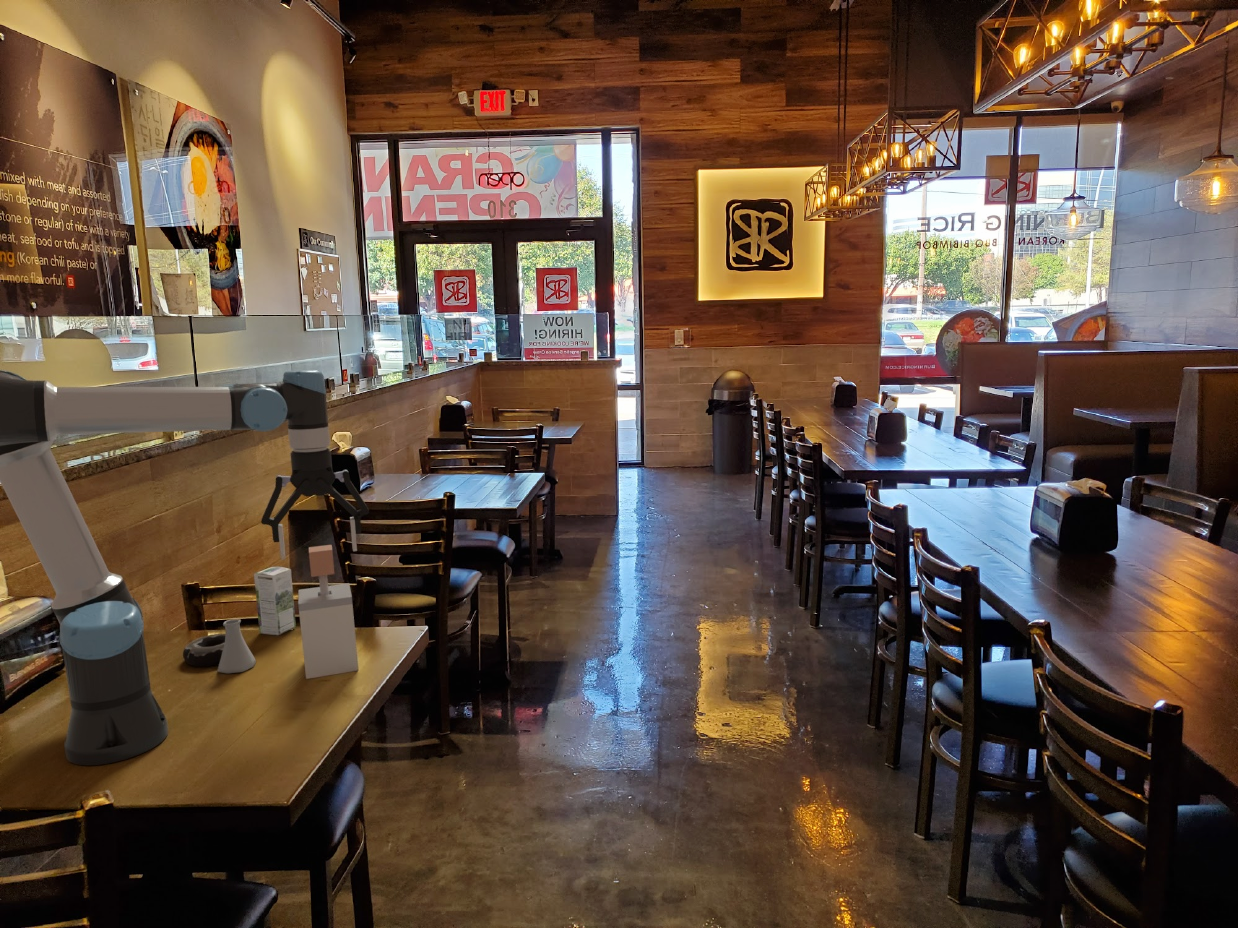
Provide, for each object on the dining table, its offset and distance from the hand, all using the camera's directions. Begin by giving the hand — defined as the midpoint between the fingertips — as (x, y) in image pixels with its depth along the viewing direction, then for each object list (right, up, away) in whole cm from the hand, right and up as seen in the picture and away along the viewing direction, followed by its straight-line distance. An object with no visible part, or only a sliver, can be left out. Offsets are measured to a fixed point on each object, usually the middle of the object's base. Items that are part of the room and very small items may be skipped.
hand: (319, 553), depth 171 cm
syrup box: (-19, -21, +26) cm, 38 cm away
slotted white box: (+1, -23, +4) cm, 24 cm away
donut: (-26, -24, +11) cm, 37 cm away
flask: (-19, -24, +5) cm, 31 cm away
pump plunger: (+1, -19, +3) cm, 19 cm away
